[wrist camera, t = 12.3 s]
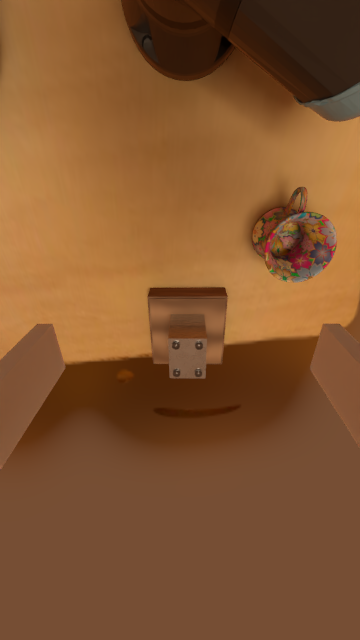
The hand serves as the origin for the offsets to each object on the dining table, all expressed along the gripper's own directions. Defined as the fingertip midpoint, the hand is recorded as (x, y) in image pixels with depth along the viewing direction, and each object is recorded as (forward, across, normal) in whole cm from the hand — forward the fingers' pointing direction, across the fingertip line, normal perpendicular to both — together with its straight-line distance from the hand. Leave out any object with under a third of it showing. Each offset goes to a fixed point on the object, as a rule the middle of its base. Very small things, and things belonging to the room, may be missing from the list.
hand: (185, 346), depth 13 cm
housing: (+30, 0, -18) cm, 36 cm away
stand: (+35, 0, -18) cm, 39 cm away
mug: (+35, +15, 0) cm, 38 cm away
